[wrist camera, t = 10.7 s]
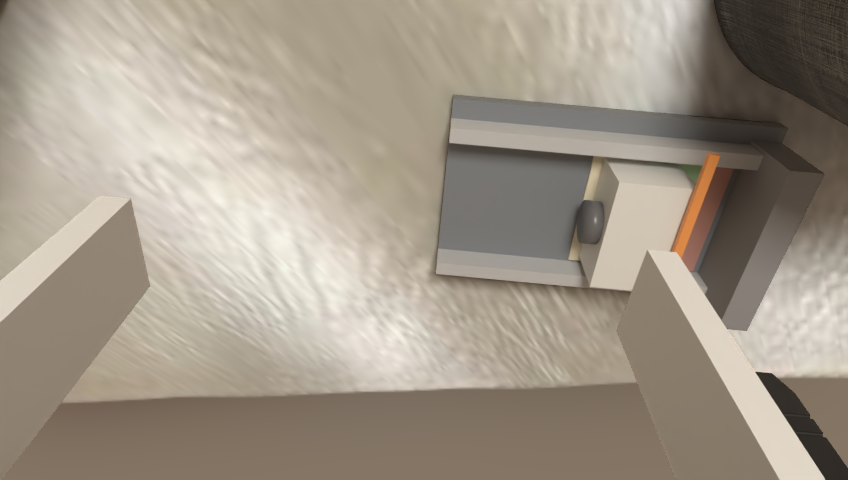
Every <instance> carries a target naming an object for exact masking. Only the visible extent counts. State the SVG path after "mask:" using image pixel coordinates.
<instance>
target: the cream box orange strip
mask: <svg viewBox="0 0 848 480" xmlns="http://www.w3.org/2000/svg"><path fill="white" fill-rule="evenodd" d="M719 159H720V155H719V154H718V153H709V152H707V155H706V158H705V161H704V163H703V166H702V169H701V172H700V174H699V177H698V180H697V183H696V184H695V183H694V182H693V181H692V179H691V178H690V177H689V176H688V175H687V174H686V172H685V171H684V170H683V169H682V168H681V167H680V166H679V164H670V163H659V162H648V161H637V160H626V159H615V158H605V159H604V163H603V167H602V170H601V174H600V178H599V182H598V186H597V189H596V193H595V197H594V201H593V200H584V201H583V202H582V203H581V206H580V208H579V212H578V217H577V239H578V241H579V243H582V247H581V250H580V254H579V257H580V260H581V263H582V266H583V269H584V272H585V275H586V277H587V280H588V283H589V286H590V287H596V288H607V289H618V290H628V291H632V289H633V286H634V284H635V281H636V278H637V276H638V273H639V270H640V268H641V265H642V262H643V260H644V257H645V254H646V252H647V249H648V250H658V251H668V252H677V253H678V255H679V256H680V258H682V256H683V253H684V250H685V248H686V245H687V243H688V240H689V237H690V235H691V232H692V229H693V227H694V224H695V222H696V219H697V216H698V214H699V211H700V208H701V206H702V203H703V201H704V198H705V195H706V193H707V190H708V187H709V185H710V182H711V180H712V177H713V174H714V172H715V169H716V166H717V164H718V161H719Z"/></svg>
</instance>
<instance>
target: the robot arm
mask: <svg viewBox="0 0 848 480" xmlns="http://www.w3.org/2000/svg"><path fill="white" fill-rule="evenodd" d="M149 287H150V283H149V279H148V274H147V270H146V265H145V261H144V256H143V252H142V247H141V243H140V238H139V234H138V229H137V225H136V220H135V216H134V211H133V207H132V202H131V199H130V198H119V197H109V196H99V197H98V198H97V199H95V200H94V201H93V202H92V203H91V204H90V205H88V206H87V207H86V208H85V209H84V210H83V211H81V212H80V213H79V214H78V215H77V216H76V217H74V218H73V219H72V220H71V221H70V222H69V223H67V224H66V225H65V226H64V227H63V228H61V229H60V230H59V231H58V232H57V233H56V234H54V235H53V236H52V237H51V238H50V239H49V240H47V241H46V242H45V243H44V244H43V245H42V246H40V247H39V248H38V249H37V250H36V251H35V252H33V253H32V254H31V255H30V256H29V257H28V258H26V259H25V260H24V261H23V262H22V263H21V264H19V265H18V266H17V267H16V268H15V269H14V270H12V271H11V272H10V273H9V274H8V275H7V276H5V277H4V278H3V279H2V280H1V281H0V480H2V479H3V478H4V476H5V475H6V474H7V472H8V471H9V470H10V468H11V467H12V466H13V465H14V463H15V462H16V461H17V459H18V458H19V457H20V455H21V454H22V453H23V451H24V450H25V449H26V448H27V446H28V445H29V444H30V442H31V441H32V439H33V438H34V437H35V436H36V435H37V433H38V432H39V431H40V429H41V428H42V427H43V425H44V424H45V423H46V421H47V420H48V419H49V418H50V416H51V415H52V414H53V412H54V411H55V410H56V408H57V407H58V406H59V404H60V403H61V402H62V401H63V399H64V398H65V397H66V395H67V394H68V393H69V391H70V390H71V389H72V388H73V386H74V385H75V384H76V382H77V381H78V380H79V378H80V377H81V376H82V374H83V373H84V372H85V371H86V369H87V368H88V367H89V365H90V364H91V363H92V361H93V360H94V359H95V357H96V356H97V355H98V354H99V352H100V351H101V350H102V348H103V347H104V346H105V344H106V343H107V342H108V340H109V339H110V338H111V337H112V335H113V334H114V333H115V331H116V330H117V329H118V327H119V326H120V325H121V324H122V322H123V321H124V320H125V318H126V317H127V316H128V314H129V313H130V312H131V310H132V309H133V308H134V307H135V305H136V304H137V303H138V301H139V300H140V299H141V297H142V296H143V295H144V293H145V292H146V291H147V290H148V288H149ZM617 332H618V335H619V337H620V340H621V342H622V345H623V348H624V350H625V353H626V355H627V358H628V360H629V363H630V365H631V368H632V370H633V373H634V375H635V378H636V380H637V383H638V385H639V388H640V390H641V393H642V396H643V398H644V400H645V403H646V406H647V408H648V410H649V413H650V416H651V418H652V421H653V423H654V426H655V428H656V431H657V433H658V436H659V438H660V441H661V443H662V446H663V448H664V451H665V454H666V456H667V459H668V461H669V464H670V466H671V469H672V471H673V474H674V476H675V479H676V480H848V468H847V466H846V465H845V464H844V463H843V461H842V459H841V458H840V456H839V455H838V454H837V452H836V451H835V449H834V448H833V447H832V445H831V444H830V442H829V441H828V440H827V438H825V437H823V435H822V434H823V432H822V431H821V430H820V428H819V427H818V425H817V424H816V422H815V421H814V420H813V419H810V414H809V413H808V411H807V410H806V408H805V407H804V406H803V404H802V403H801V401H800V400H799V398H798V397H797V396H796V394H795V393H794V392H793V391H792V390H791V389H789V388H788V387H787V386H786V385H785V384H784V383H782V382H781V381H780V380H779V379H778V378H777V377H775V376H774V375H773V374H772V373H762V372H755V371H754V370H753V368H752V367H751V365H750V364H749V362H748V360H747V359H746V357H745V356H744V354H743V353H742V351H741V350H740V348H739V347H738V345H737V344H736V342H735V341H734V339H733V338H732V336H731V334H730V333H729V331H728V330H727V328H726V327H725V325H724V324H723V322H722V321H721V319H720V318H719V316H718V315H717V313H716V312H715V310H714V308H713V307H712V305H711V304H710V302H709V301H708V299H707V298H706V296H705V295H704V293H703V292H702V290H701V289H700V287H699V285H698V284H697V282H696V281H695V279H694V278H693V276H692V275H691V273H690V272H689V270H688V269H687V267H686V266H685V264H684V263H683V261H682V259H681V258H680V256H679V255H678V253H677V252H668V251H658V250H648V249H647V252H646V254H645V257H644V260H643V262H642V265H641V268H640V270H639V273H638V276H637V278H636V281H635V284H634V286H633V289H632V292H631V294H630V297H629V299H628V302H627V305H626V307H625V310H624V313H623V315H622V318H621V321H620V323H619V326H618V329H617Z"/></svg>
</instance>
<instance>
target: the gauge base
mask: <svg viewBox="0 0 848 480" xmlns="http://www.w3.org/2000/svg"><path fill="white" fill-rule="evenodd" d="M786 132H787V128H786V127H784V126H783V125H781V124H778V123H767V122H756V121H744V120H733V119H722V118H710V117H699V116H688V115H677V114H665V113H654V112H643V111H631V110H620V109H609V108H598V107H586V106H575V105H564V104H553V103H541V102H530V101H519V100H507V99H496V98H485V97H474V96H462V95H453V102H452V112H451V122H450V132H449V142H448V152H447V162H446V172H445V182H444V192H443V202H442V212H441V222H440V232H439V242H438V252H437V262H436V274H443V275H453V276H464V277H475V278H486V279H496V280H507V281H518V282H528V283H539V284H550V285H561V286H571V287H582V288H593V289H603V290H614V291H625V292H632V291H628V290H618V289H607V288H596V287H590V286H589V283H588V280H587V277H586V275H585V272H584V269H583V266H582V263H581V260H580V257H579V254H580V250H581V247H582V243H579V241H578V239H577V217H578V212H579V208H580V206H581V203H582V202H583V201H584V200H593V201H594V197H595V193H596V189H597V186H598V182H599V178H600V174H601V170H602V167H603V163H604V159H605V158H615V159H626V160H637V161H648V162H659V163H670V164H679V166H680V167H681V168H682V169H683V170H684V171H685V172H686V174H687V175H688V176H689V177H690V178H691V179H692V181H693V182H694V183H695V184H696V183H697V180H698V177H699V174H700V172H701V169H702V166H703V163H704V161H705V158H706V155H707V152H709V153H718V154H719V155H720V159H719V161H718V164H717V166H716V169H715V172H714V174H713V177H712V180H711V182H710V185H709V187H708V190H707V193H706V195H705V198H704V201H703V203H702V206H701V208H700V211H699V214H698V216H697V219H696V222H695V224H694V227H693V229H692V232H691V235H690V237H689V240H688V243H687V245H686V248H685V250H684V253H683V256H682V258H681V259H682V261H683V263H684V264H685V266H686V267H687V269H688V270H689V272H690V273H691V275H692V276H693V278H694V279H695V281H696V282H697V284H698V285H699V287H700V289H701V290H702V292H703V293H704V295H705V296H706V298H707V299H708V301H709V302H710V304H711V305H712V307H713V308H714V310H715V312H716V313H717V315H718V316H719V318H720V319H721V321H722V322H723V324H724V325H725V327H726V328H727V329H732V330H742V331H747V329H748V327H749V325H750V323H751V321H752V319H753V317H754V315H755V313H756V311H757V309H758V307H759V305H760V303H761V301H762V299H763V297H764V295H765V293H766V291H767V289H768V287H769V285H770V283H771V281H772V279H773V277H774V275H775V273H776V271H777V269H778V267H779V265H780V263H781V261H782V259H783V257H784V255H785V253H786V251H787V249H788V247H789V245H790V243H791V241H792V239H793V237H794V234H795V232H796V230H797V228H798V226H799V224H800V222H801V220H802V218H803V216H804V214H805V212H806V210H807V208H808V206H809V204H810V202H811V200H812V198H813V196H814V194H815V192H816V190H817V188H818V186H819V184H820V182H821V180H822V178H823V176H824V173H822V172H821V171H820V170H818V169H817V168H815V167H814V166H813V165H811V164H810V163H808V162H807V161H806V160H804V159H803V158H801V157H800V156H799V155H797V154H796V153H794V152H793V151H792V150H790V149H789V148H787V147H786V146H785V145H783V144H782V141H783V138H784V136H785V134H786Z"/></svg>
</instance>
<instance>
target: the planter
mask: <svg viewBox="0 0 848 480" xmlns="http://www.w3.org/2000/svg"><path fill="white" fill-rule="evenodd" d="M714 1H715V7H716V12H717V16H718V20H719V24H720V26H721V29H722V32H723V34H724V36H725V39H726V41H727V42H728V44H729V46H730V48H731V49H732V51H733V52H734V53H735V55H736V56H737V58H738V59H739V60H740V61H741V62H742V63H743V64H744V65H745V66H746V67H747V68H748V69H749V70H750V71H751V72H753V73H754V74H755V75H757V76H758V77H760V78H761V79H763V80H765V81H766V82H768V83H770V84H772V85H774V86H776V87H778V88H781V89H783V90H785V91H787V92H789V93H791V94H793V95H794V96H796V97H798V98H800V99H802V100H803V101H805V102H807V103H809V104H810V105H812V106H814V107H816V108H817V109H819V110H821V111H822V112H824V113H826V114H828V115H829V116H831V117H833V118H835V119H837V120H838V121H840V122H842V123H844V124H845V125H847V126H848V0H714Z"/></svg>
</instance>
